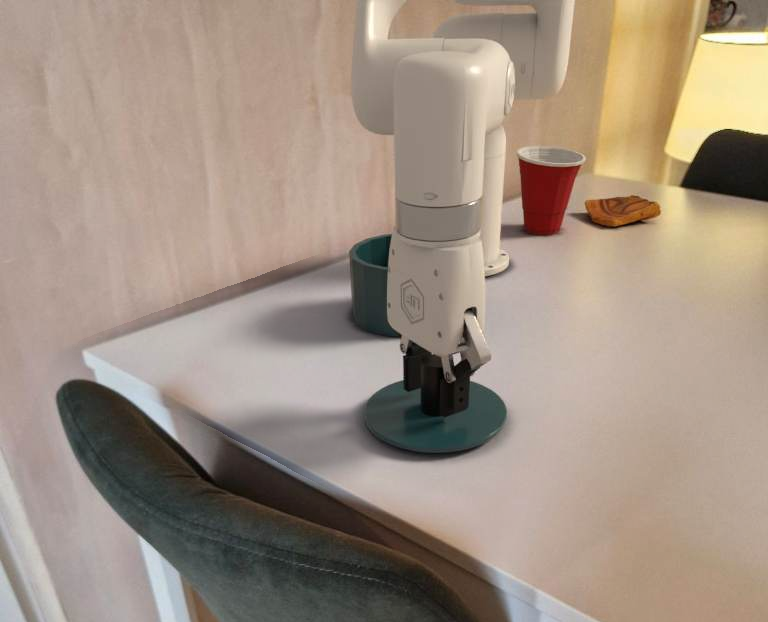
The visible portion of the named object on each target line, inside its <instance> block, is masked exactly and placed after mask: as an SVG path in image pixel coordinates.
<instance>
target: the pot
mask: <svg viewBox="0 0 768 622" xmlns="http://www.w3.org/2000/svg"><path fill="white" fill-rule="evenodd" d="M391 237H392V233H386V234H381V235H376V236H372V237H368V238H365V239H363V240H360V241H359V242H357V243H355V244H353V245H352V247H351V248H350V250H349V251H348V257H349V259H348V260H349V276H350V291H351V292H350V294H351V295H350V296H351V310H352V314H353V315H352V316H353V317H352V318H353V321H354V323H355V324H356V325H357V326H359V327H360V328H362V329H363V330H365V331H367V332H369V333H373V334H376V335H379V336H388V337H395V338H396V337H399V334H398V332H397V331H396V330H394V329H393V328H392V327H391V326H390V324H389V322H388V318H387V278H388V261H389V250H390V244H391ZM399 338H400V337H399Z"/></svg>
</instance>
